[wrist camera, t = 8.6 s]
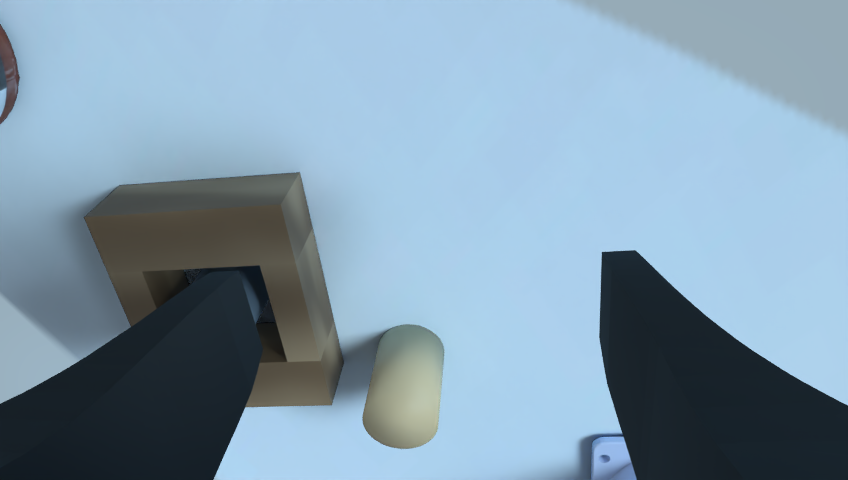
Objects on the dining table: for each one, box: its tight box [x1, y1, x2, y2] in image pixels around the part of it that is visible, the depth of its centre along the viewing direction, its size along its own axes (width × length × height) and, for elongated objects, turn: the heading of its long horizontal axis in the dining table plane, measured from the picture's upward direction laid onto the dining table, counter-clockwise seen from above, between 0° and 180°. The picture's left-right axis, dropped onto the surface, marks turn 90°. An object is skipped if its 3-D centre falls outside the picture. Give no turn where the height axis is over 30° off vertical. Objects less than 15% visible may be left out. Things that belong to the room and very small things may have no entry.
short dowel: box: [363, 325, 444, 449], centre depth 25 cm, size 3×3×4 cm
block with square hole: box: [84, 173, 344, 407], centre depth 25 cm, size 9×7×2 cm
